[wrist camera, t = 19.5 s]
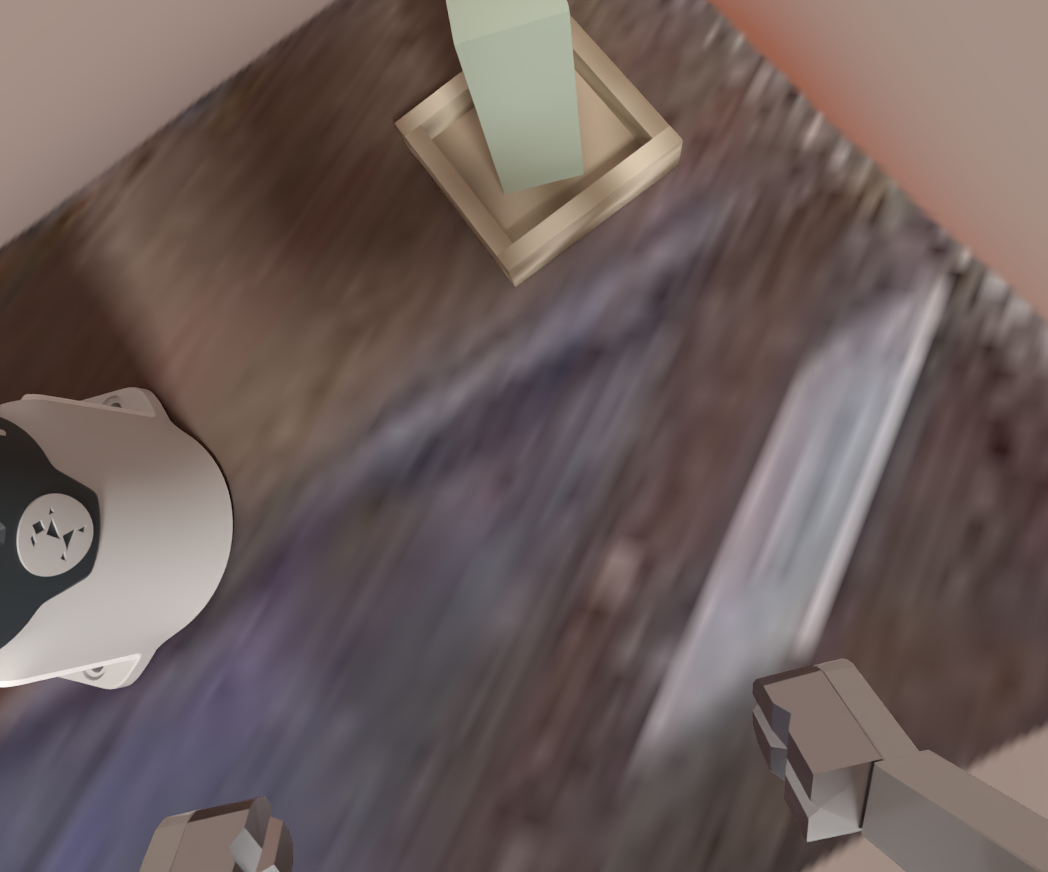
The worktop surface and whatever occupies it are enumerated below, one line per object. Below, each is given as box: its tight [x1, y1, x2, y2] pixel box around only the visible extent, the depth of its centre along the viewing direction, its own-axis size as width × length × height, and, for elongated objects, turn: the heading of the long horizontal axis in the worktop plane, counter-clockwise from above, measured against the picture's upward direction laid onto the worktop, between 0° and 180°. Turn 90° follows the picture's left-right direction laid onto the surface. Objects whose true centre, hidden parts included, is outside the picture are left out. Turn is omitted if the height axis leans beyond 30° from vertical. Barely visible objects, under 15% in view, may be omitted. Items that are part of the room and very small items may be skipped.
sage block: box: [446, 0, 584, 194], centre depth 31 cm, size 5×5×12 cm
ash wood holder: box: [395, 16, 683, 287], centre depth 37 cm, size 12×12×2 cm
